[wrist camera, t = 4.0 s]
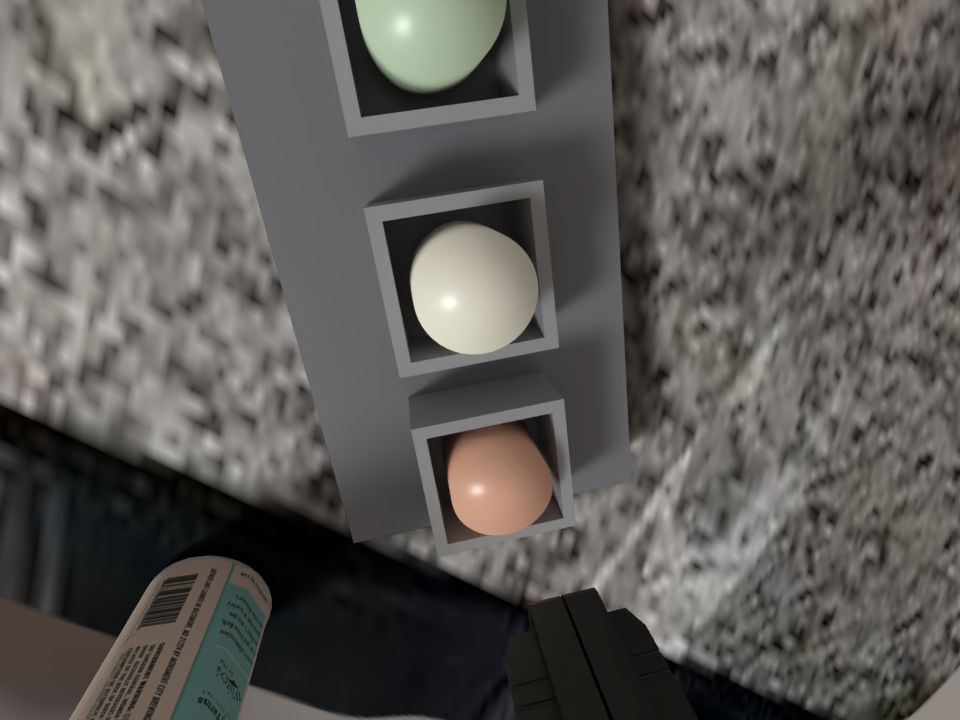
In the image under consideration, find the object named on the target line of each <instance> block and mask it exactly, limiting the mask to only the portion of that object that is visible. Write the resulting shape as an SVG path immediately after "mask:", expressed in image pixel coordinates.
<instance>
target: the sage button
mask: <svg viewBox="0 0 960 720" xmlns="http://www.w3.org/2000/svg"><path fill="white" fill-rule="evenodd" d="M355 3H356V8H357V13H358V18H359V23H360V28H361V33H362V37H363V41H364V45H365V48H366V50H367V53H368V55H369V57H370V59H371V61H372V63H373V64H374V66H375V67H376V69H377V70H378V71H379V73H380V74H381V75H382V76H383V77H384V78H385V79H386V80H387V81H388V82H389V83H391V84H392V85H394V86H395V87H396V88H398V89H400V90H402V91H404V92H407V93H409V94H412V95H417V96H425V97H429V96H438V95H442V94H445V93H448V92H450V91H452V90H454V89H455V88H457V87H458V86H460V85H461V84H462V83H463V82H464V81H465V80H466V79H467V78H468V77H469V76H470V75H471V73H472V72H473V71H474V69H475V68H476V67H477V66H478V64H479V63H480V62H481V60H482V59H483V58H484V56H485V55H486V54H487V53H488V51H489V50H490V49H491V47H492V46H493V44H494V42H495V41H496V39H497V37H498V35H499V32H500V30H501V27H502V24H503V20H504V17H505V11H506V3H507V0H355Z"/></svg>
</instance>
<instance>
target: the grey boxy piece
mask: <svg viewBox="0 0 960 720" xmlns="http://www.w3.org/2000/svg"><path fill="white" fill-rule="evenodd" d="M202 4H203V7H204V11H205V14H206V18H207V21H208V25H209V29H210V32H211V36H212V39H213V43H214V46H215V50H216V54H217V57H218V61H219V64H220V68H221V71H222V75H223V79H224V82H225V86H226V89H227V93H228V96H229V100H230V103H231V107H232V111H233V114H234V118H235V121H236V125H237V128H238V132H239V136H240V139H241V143H242V146H243V150H244V153H245V157H246V161H247V164H248V168H249V171H250V175H251V178H252V182H253V186H254V189H255V193H256V196H257V200H258V203H259V207H260V210H261V214H262V218H263V221H264V225H265V228H266V232H267V235H268V239H269V243H270V246H271V250H272V253H273V257H274V260H275V264H276V268H277V271H278V275H279V278H280V282H281V285H282V289H283V293H284V296H285V300H286V303H287V307H288V310H289V314H290V318H291V321H292V325H293V328H294V332H295V335H296V339H297V342H298V346H299V350H300V353H301V357H302V360H303V364H304V367H305V371H306V375H307V378H308V382H309V385H310V389H311V392H312V396H313V400H314V403H315V407H316V410H317V414H318V417H319V421H320V425H321V428H322V432H323V435H324V439H325V442H326V446H327V449H328V453H329V457H330V460H331V464H332V467H333V471H334V474H335V478H336V482H337V485H338V489H339V492H340V496H341V499H342V503H343V507H344V510H345V514H346V517H347V521H348V524H349V528H350V532H351V535H352V539H353V542H354V543H357V542H361V541H366V540H370V539H375V538H379V537H384V536H388V535H393V534H397V533H402V532H406V531H411V530H415V529H420V528H424V527H429V526H431V527H432V531H433V536H434V541H435V546H436V550H437V555H438V557H439V556H444V555H448V554H452V553H457V552H461V551H466V550H470V549H474V548H479V547H483V546H487V545H492V544H496V543H500V542H505V541H509V540H514V539H518V538H522V537H527V536H531V535H535V534H540V533H544V532H548V531H553V530H557V529H562V528H566V527H570V526H575V525H576V520H575V510H574V499H573V494H577V493H581V492H586V491H590V490H595V489H599V488H604V487H608V486H613V485H617V484H622V483H626V482H631V468H630V447H629V427H628V407H627V386H626V366H625V345H624V325H623V305H622V284H621V264H620V243H619V223H618V203H617V182H616V162H615V141H614V121H613V101H612V80H611V60H610V39H609V19H608V0H507V3H506V11H505V17H504V20H503V24H502V27H501V30H500V32H499V35H498V37H497V39H496V41H495V42H494V44H493V46H492V47H491V49H490V50H489V51H488V53H487V54H486V55H485V56H484V58H483V59H482V60H481V62H480V63H479V64H478V66H477V67H476V68H475V69H474V71H473V72H472V73H471V75H470V76H469V77H468V78H467V79H466V80H465V81H464V82H463V83H462V84H461V85H460V86H458V87H457V88H455V89H454V90H452V91H450V92H448V93H445V94H442V95H438V96H429V97H425V96H417V95H412V94H409V93H407V92H404V91H402V90H400V89H398V88H396V87H395V86H394V85H392V84H391V83H389V82H388V81H387V80H386V79H385V78H384V77H383V76H382V75H381V74H380V73H379V71H378V70H377V69H376V67H375V66H374V64H373V63H372V61H371V59H370V57H369V55H368V53H367V50H366V48H365V45H364V41H363V37H362V33H361V28H360V23H359V18H358V13H357V8H356V3H355V0H202ZM460 220H464V221H473V222H477V223H480V224H483V225H485V226H487V227H489V228H491V229H493V230H495V231H497V232H499V233H501V234H503V235H505V236H507V237H509V238H510V239H512V240H513V241H515V242H516V243H517V244H518V245H519V246H520V247H521V248H522V249H523V250H524V251H525V252H526V253H527V255H528V257H529V258H530V260H531V262H532V264H533V266H534V268H535V272H536V275H537V280H538V300H537V305H536V309H535V311H534V314H533V316H532V318H531V320H530V322H529V324H528V325H527V327H526V328H525V330H524V331H523V332H522V333H521V334H520V335H519V336H518V337H517V338H516V339H515V340H514V341H512V342H511V343H509V344H508V345H506V346H504V347H503V348H501V349H498V350H496V351H493V352H489V353H485V354H462V353H458V352H454V351H452V350H449V349H447V348H445V347H443V346H442V345H440V344H439V343H437V342H436V341H435V340H433V339H432V338H431V337H430V336H429V335H428V334H427V332H426V331H425V330H424V328H423V327H422V325H421V323H420V322H419V320H418V317H417V315H416V312H415V308H414V303H413V298H412V292H411V287H410V280H409V268H410V262H411V259H412V255H413V253H414V251H415V249H416V247H417V245H418V244H419V243H420V241H421V240H422V239H423V238H424V237H425V236H426V235H427V234H428V233H429V232H430V231H432V230H433V229H434V228H436V227H438V226H440V225H442V224H445V223H448V222H452V221H460ZM516 420H521V421H522V422H523V423H524V425H525V426H526V428H527V430H528V432H529V433H530V435H531V437H532V439H533V441H534V443H535V444H536V446H537V448H538V450H539V452H540V454H541V455H542V457H543V459H544V461H545V463H546V465H547V467H548V468H549V470H550V473H551V476H552V481H553V489H552V495H551V499H550V501H549V504H548V506H547V507H546V509H545V511H544V512H543V513H542V515H541V516H540V517H539V518H538V519H537V520H536V521H534V522H533V523H532V524H531V525H529V526H528V527H526V528H524V529H522V530H520V531H517V532H515V533H511V534H507V535H498V536H495V535H486V534H482V533H478V532H476V531H474V530H472V529H470V528H468V527H467V526H466V525H465V524H463V523H462V521H461V520H460V519H459V518H458V516H457V515H456V513H455V511H454V508H453V505H452V500H451V495H450V489H449V484H448V479H447V473H446V468H445V463H444V457H443V445H444V441H445V438H446V435H448V434H453V433H457V432H462V431H467V430H472V429H477V428H482V427H487V426H491V425H496V424H501V423H506V422H511V421H516Z"/></svg>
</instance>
